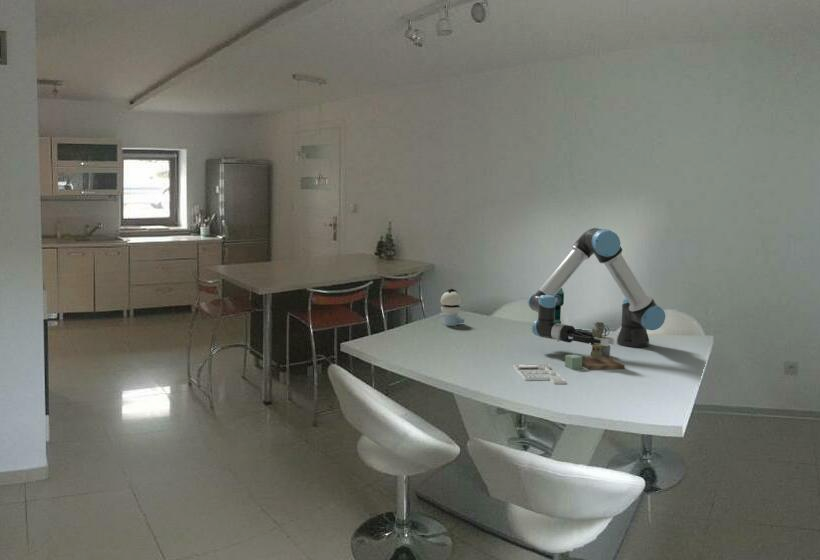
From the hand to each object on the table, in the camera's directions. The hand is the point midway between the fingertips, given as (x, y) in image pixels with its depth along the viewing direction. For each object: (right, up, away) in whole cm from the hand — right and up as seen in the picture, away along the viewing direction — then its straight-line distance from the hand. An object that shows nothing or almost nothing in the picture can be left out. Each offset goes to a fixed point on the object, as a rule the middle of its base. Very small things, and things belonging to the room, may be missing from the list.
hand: (610, 342), depth 289 cm
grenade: (-4, -7, +5) cm, 9 cm away
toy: (-63, +2, +87) cm, 107 cm away
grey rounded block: (+2, -8, +20) cm, 22 cm away
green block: (-16, -11, 0) cm, 19 cm away
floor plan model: (-33, -13, -13) cm, 38 cm away
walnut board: (-4, -10, +5) cm, 12 cm away
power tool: (-6, 0, +81) cm, 81 cm away
